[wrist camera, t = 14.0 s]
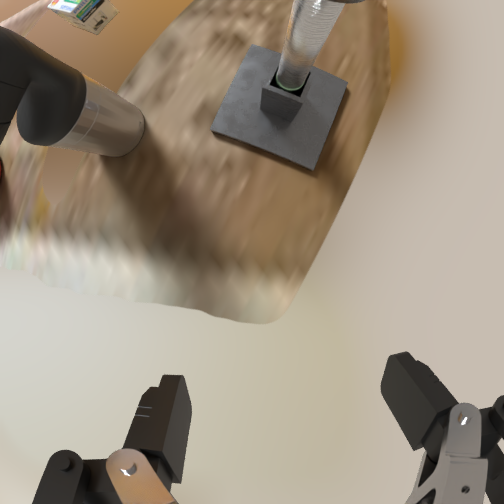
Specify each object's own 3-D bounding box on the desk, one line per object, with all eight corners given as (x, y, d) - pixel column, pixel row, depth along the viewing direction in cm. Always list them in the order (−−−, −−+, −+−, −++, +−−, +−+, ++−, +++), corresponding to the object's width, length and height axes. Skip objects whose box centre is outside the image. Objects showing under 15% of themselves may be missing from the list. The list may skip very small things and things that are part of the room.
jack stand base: (211, 131, 38) (198, 113, 27) (251, 48, 34) (251, 13, 24) (311, 170, 39) (330, 165, 29) (345, 85, 36) (369, 60, 25)
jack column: (260, 97, 30) (272, -40, 7) (275, 66, 29) (303, -73, 6) (298, 112, 31) (375, -2, 7) (312, 81, 30) (388, -41, 6)
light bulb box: (120, 11, 31) (98, -15, 21) (97, 36, 32) (70, 13, 22) (92, 4, 30) (69, -19, 19) (71, 26, 31) (45, 7, 20)
